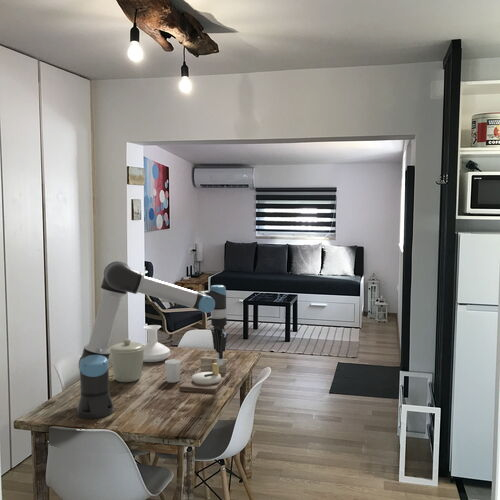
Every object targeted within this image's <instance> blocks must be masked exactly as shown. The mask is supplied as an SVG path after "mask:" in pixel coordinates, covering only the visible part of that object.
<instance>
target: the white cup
mask: <svg viewBox="0 0 500 500" xmlns="http://www.w3.org/2000/svg"><path fill="white" fill-rule="evenodd" d="M181 363H182V362H181V359H177V358H172V359H167V360H166V359H165V360H164V367H165V369H164V370H165V376H166V377H165V378H166V380H165V381H166V382H167V383H171V384H172V383H178V382H180V381H181V369H182V368H181V366H182V364H181Z"/></svg>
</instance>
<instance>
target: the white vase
mask: <svg viewBox="0 0 500 500" xmlns="http://www.w3.org/2000/svg"><path fill="white" fill-rule="evenodd" d="M142 328H143V329H145V331H147V343H144V344H143V345H144V346H145V349H144V356H143V363H157V362H161V361H165V360H166V359H167V358H168V357H169V356H170V355H171V349H170V348H169V347H167V346H166V345H164V344H163V343H160V342H158V330H160V328H162V326H161V325H160V324H159V325H158V324H149V325H144V326H143V327H142Z"/></svg>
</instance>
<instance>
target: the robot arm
mask: <svg viewBox="0 0 500 500" xmlns="http://www.w3.org/2000/svg"><path fill="white" fill-rule="evenodd" d="M102 278H103V279H102V283H101V285H100V290H101V291H102V295H101V298H100V302H99V307H98V309H97V312H96V313H97V314H96V315H95V316H96V317H95V320H94V324H93V328H92V331H91V335H90V338H89V342H88V344H86V345H84V347H83V351H82V354H81V356H80V358H79V361H78V370H79V379H80V380H79V381H80V382H79V385H80V387H79V388H80V397H79V401H78V404H77V407H76V415H78V416H77V417H78V418H81V419H84V420H85V419H86V420H87V419H88V420H89V419H90V420H93V419H100V418H104V417H107V416H109V415H111V414H113V413H114V410H115V409H114V407H115V406H114V403H113V400H112V398H111V395H110V384H109V383H110V381H109V380H110V379H109V377H110V376H109V375H110V374H109V366H110V364H109V357H110V356H111V353H110V351H109V345H110V341H111V338H112V334H113V331H114V327H115V324H116V320H117V315H118V312H119V310H120V305H121V301H122V298H123V297H124V296H126V295H127V293H132V294H135V295H136V294H138V293H139V294H143V295H147V296H149V297H150V296H151V297H154V298H157V299H160V300H162V301H163V300H164V301H167V302H170V303H174V304H178V305H181V306H185V307H188V308H191V309H194V310H198V311H200V312H202V313H206V314H208V313H210V317H211V318H210V325H211V326H212V327H213V329H210V332H211V335H212V336H211V337H212V343H213V344H212V345H213V349H214V350H215V352H216V358H217V365H218V366H219V365H223V359H224V354H223V353H224V352H226V351H227V350H226V347H227V338H228V332H227V333H226V331H225V330H226V329H225V326H226V325H228V323H227V322H228V321H227V320H228V319H227V318H228V317H227V289H226V286H225V285H223V284H214V285H210V288H209V289H208V290H195V291H194V290H191V289H188V288H185V287H181V286H178V285H176V284H172V283H169V282H166V281H161V280H159V279H156V278H153V277H148V276H146V275H144V273H143V272H141V271H137V270H136V269H134V268H132V267H130V266H129V265H128V264H127V263H125V262H123V261H117V260H116V261H112V262H110V263H109V264H107V266H106V267H105V268H104V270H103V277H102Z"/></svg>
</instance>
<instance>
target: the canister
mask: <svg viewBox="0 0 500 500" xmlns="http://www.w3.org/2000/svg"><path fill="white" fill-rule="evenodd" d="M144 345H145V344H142V343H141V342H134V341H131V339H130V338H125V339H123V342H120V343H116V344H113V345H112V346H110V347H108V349H109V351H110V358H111V366H112V371H113V377H114V380H115V381H117V382H118V383H119V382H120V383H133V382H136V381H137V380H139V379H140V378H141V377H142V374H143V365H144V364H143V363H144V362H143V356H144V349H145V346H144Z"/></svg>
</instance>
